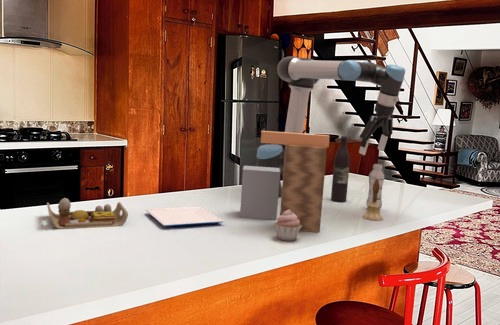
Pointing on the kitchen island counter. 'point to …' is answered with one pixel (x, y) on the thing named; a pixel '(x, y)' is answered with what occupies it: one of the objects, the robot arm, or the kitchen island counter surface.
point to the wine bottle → (340, 173)
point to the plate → (183, 216)
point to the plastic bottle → (373, 176)
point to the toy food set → (87, 216)
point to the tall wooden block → (304, 184)
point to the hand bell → (373, 205)
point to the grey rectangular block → (259, 192)
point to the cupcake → (287, 226)
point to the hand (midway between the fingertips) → (371, 151)
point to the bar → (295, 138)
